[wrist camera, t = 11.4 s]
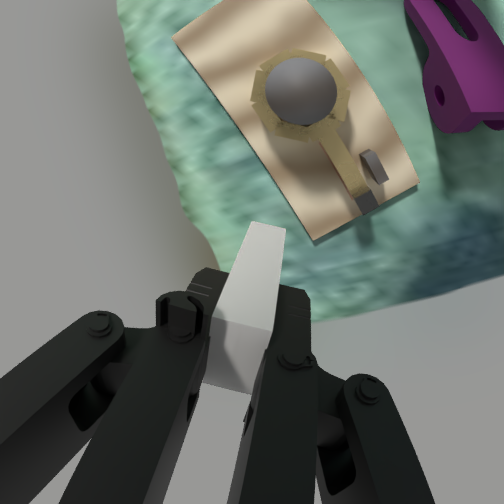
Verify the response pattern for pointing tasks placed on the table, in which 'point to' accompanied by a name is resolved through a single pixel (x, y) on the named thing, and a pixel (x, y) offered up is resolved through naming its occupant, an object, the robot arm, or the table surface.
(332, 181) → the base
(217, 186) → the table surface
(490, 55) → the mounting bracket
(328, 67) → the collar
